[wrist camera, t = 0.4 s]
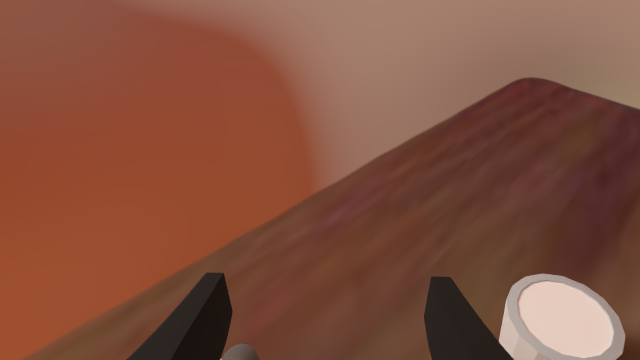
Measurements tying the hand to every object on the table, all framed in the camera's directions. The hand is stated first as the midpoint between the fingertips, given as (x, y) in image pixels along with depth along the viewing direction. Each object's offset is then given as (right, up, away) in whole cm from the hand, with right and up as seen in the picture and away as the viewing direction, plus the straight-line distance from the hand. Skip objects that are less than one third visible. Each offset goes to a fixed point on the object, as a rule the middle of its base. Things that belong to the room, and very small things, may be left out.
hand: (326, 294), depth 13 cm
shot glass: (+17, -11, +16) cm, 26 cm away
